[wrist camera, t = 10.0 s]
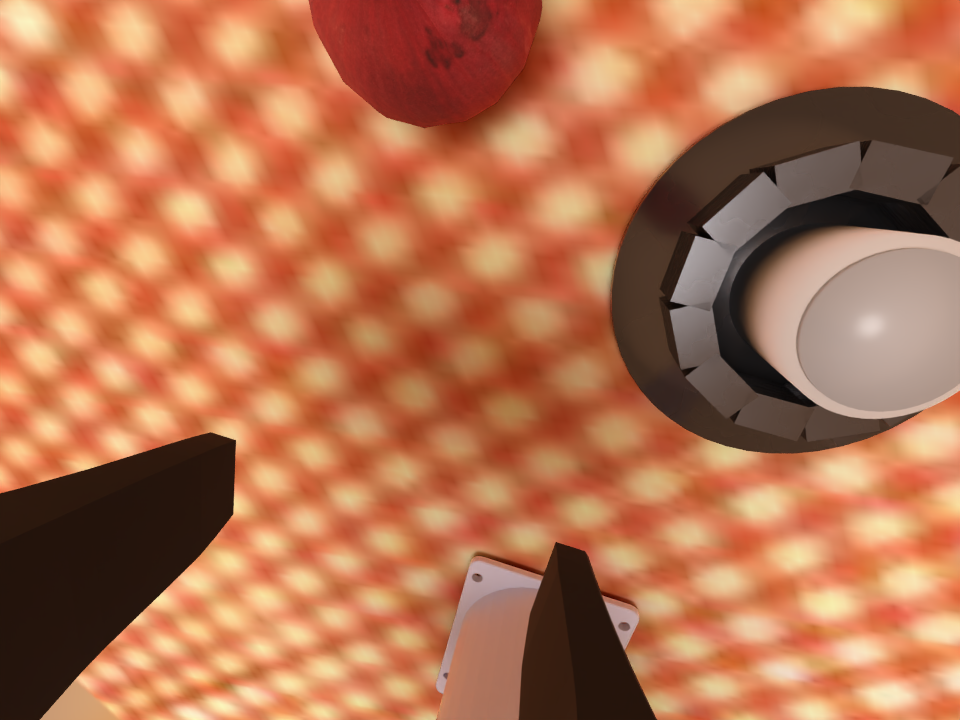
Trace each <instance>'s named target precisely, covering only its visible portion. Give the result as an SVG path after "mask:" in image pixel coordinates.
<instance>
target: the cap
mask: <svg viewBox="0 0 960 720" xmlns="http://www.w3.org/2000/svg"><path fill="white" fill-rule="evenodd" d="M729 310H730V316H731V319H732V322H733V325H734V327H735V329H736V331H737V333H738V334H739V336H740V337H741V338H742V340H743V341H744V342H745V343H746V344H747V345H748V346H750V347H751V348H752V349H753V350H754V351H755V352H756V353H758V354H759V355H760V356H761V357H762V358H763V359H764V360H765V361H767V362H768V363H769V364H770V365H771V366H772V367H773V368H775V369H776V370H777V371H778V372H779V373H780V374H781V375H783V376H784V377H785V378H786V379H787V380H788V381H789V382H790V383H792V384H793V385H794V386H795V387H796V388H797V389H798V390H800V391H801V392H802V393H803V394H804V395H805V396H806V397H808V398H809V399H810V400H812V401H813V402H814V403H816V404H818V405H819V406H821V407H823V408H825V409H827V410H829V411H832V412H835V413H837V414H841V415H845V416H849V417H855V418H862V419H882V418H892V417H898V416H904V415H908V414H911V413H915V412H918V411H921V410H924V409H926V408H929V407H931V406H933V405H936V404H938V403H940V402H942V401H944V400H945V399H947V398H949V397H950V396H952V395H954V394H955V393H957V392H958V391H959V390H960V242H958V241H955V240H953V239H950V238H945V237H940V236H936V235H927V234H918V233H910V232H901V231H892V230H884V229H875V228H866V227H858V226H849V225H840V224H831V223H811V224H805V225H800V226H796V227H792V228H790V229H787V230H785V231H782V232H780V233H778V234H776V235H774V236H772V237H771V238H769V239H768V240H766V241H765V242H763V243H762V244H761V245H760V246H758V247H757V248H756V249H755V250H754V251H753V252H752V253H751V254H750V255H749V256H748V257H747V258H746V260H745V261H744V263H743V264H742V265H741V267H740V269H739V270H738V272H737V274H736V276H735V278H734V281H733V283H732V287H731V291H730V298H729Z"/></svg>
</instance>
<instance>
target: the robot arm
mask: <svg viewBox="0 0 960 720" xmlns="http://www.w3.org/2000/svg"><path fill="white" fill-rule="evenodd" d="M235 450H236V440H233V439H230V438H227V437H224V436H221V435H217V434H214V433H207V434H203V435H199V436H195V437H191V438H188V439H185V440H181V441H178V442H175V443H171V444H168V445H165V446H162V447H158V448H155V449H152V450H149V451H146V452H143V453H139V454H136V455H133V456H130V457H127V458H123V459H120V460H117V461H114V462H110V463H107V464H104V465H101V466H97V467H94V468H91V469H88V470H84V471H80V472H77V473H73V474H70V475H66V476H63V477H59V478H56V479H52V480H48V481H45V482H41V483H38V484H34V485H31V486H27V487H23V488H20V489H16V490H12V491H8V492H4V493H0V720H40V719H41V718H42V717H43V715H44V714H45V713H46V712H47V711H48V710H49V709H50V707H51V706H52V705H53V704H54V703H55V702H56V700H57V699H58V698H59V697H60V696H61V695H62V694H63V693H64V692H65V690H66V689H67V688H68V687H69V686H70V685H71V684H72V682H73V681H74V680H75V679H76V678H77V677H78V676H79V674H80V673H81V672H82V671H83V670H84V669H85V668H86V667H87V666H88V665H89V664H90V663H91V662H92V661H93V660H94V659H95V658H96V657H97V656H98V655H99V654H100V653H101V651H102V650H103V649H104V648H105V647H106V646H107V645H108V644H110V643H111V642H112V641H113V640H114V639H115V638H116V637H117V636H118V635H119V634H120V633H121V632H122V631H123V630H124V629H125V628H126V627H127V626H128V625H129V624H130V623H131V622H132V621H133V620H134V619H135V618H136V617H137V616H138V615H139V614H140V613H142V612H143V611H144V610H145V609H146V608H147V607H148V606H149V605H150V604H151V603H152V602H153V601H154V600H155V599H156V598H157V597H158V596H159V595H160V594H161V593H162V592H163V591H164V590H165V589H166V588H167V587H168V586H169V585H170V584H171V583H172V582H173V581H174V580H175V579H176V578H178V577H179V576H180V575H181V574H182V573H183V572H184V571H185V570H186V569H187V568H188V567H189V566H190V565H191V564H192V563H193V562H194V561H195V560H196V559H197V558H198V557H199V556H200V555H201V553H202V552H203V551H204V550H205V549H206V548H207V546H208V545H209V544H210V543H211V542H212V540H213V539H214V538H215V537H216V536H217V534H218V533H219V532H220V530H221V529H222V528H223V527H224V525H225V524H226V523H227V521H228V520H229V519H230V518H231V516H232V515H233V506H234V478H235ZM475 573H476V574H480V575H481V576H477V575H475ZM622 622H626V623H625V624H623V623H622ZM638 622H639V613H638V610H637V609H636V608H635V607H634V606H632V605H630V604H627V603H624V602H621V601H618V600H615V599H612V598H609V597H606V596H603V595H602V594H601V591H600V589H599V586H598V583H597V580H596V578H595V575H594V572H593V569H592V566H591V563H590V560H589V557H588V556H587V554H586V552H585V551H582V550H579V549H576V548H573V547H570V546H567V545H564V544H560V543H557V542H556V543H555V546H554V549H553V551H552V554H551V557H550V560H549V562H548V565H547V568H546V571H545V573H544V576H541V575H538V574H535V573H532V572H529V571H526V570H523V569H520V568H517V567H514V566H510V565H507V564H504V563H501V562H498V561H495V560H492V559H489V558H486V557H482V556H476V557H474V558H472V560H471V562H470V566H469V569H468V573H467V576H466V580H465V583H464V587H463V590H462V594H461V597H460V601H459V605H458V608H457V612H456V615H455V619H454V622H453V626H452V629H451V633H450V636H449V640H448V643H447V647H446V650H445V654H444V657H443V661H442V664H441V668H440V671H439V675H438V678H437V682H436V688H437V690H438V691H439V692H440V693H442V694H443V696H442V700H441V704H440V708H439V712H438V715H437V719H436V720H657V719H656V717H655V715H654V713H653V711H652V709H651V707H650V705H649V702H648V700H647V698H646V696H645V694H644V692H643V690H642V688H641V686H640V684H639V682H638V680H637V678H636V675H635V673H634V671H633V669H632V667H631V664H630V662H629V660H628V658H627V655H626V653H625V649H626V647H627V645H628V643H629V640H630V638H631V636H632V634H633V632H634V630H635V628H636V626H637V624H638Z"/></svg>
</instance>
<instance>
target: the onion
mask: <svg viewBox="0 0 960 720" xmlns="http://www.w3.org/2000/svg"><path fill="white" fill-rule="evenodd" d="M309 4H310V9H311V14H312V19H313V24H314V27H315V29H316V32H317V34H318V36H319V38H320V40H321V41H322V43H323V45H324V47H325V49H326V51H327V52H328V54H329V56H330V58H331V60H332V62H333V63H334V65H335V67H336V69H337V71H338V73H339V74H340V76H341V78H342V80H343V82H345V83H346V84H347V85H348V86H349V87H350V88H351V89H353V90H354V91H355V92H356V93H357V94H358V95H360V96H361V97H362V98H363V99H364V100H365V101H366V102H368V103H369V104H370V105H371V106H372V107H373V108H374V109H376V110H377V111H378V112H379V113H381V114H382V115H384V116H385V117H387V118H390V119H394V120H397V121H401V122H405V123H408V124H412V125H416V126H419V127H423V128H427V127H432V126H437V125H443V124H449V123H457V122H465V121H467V120H469V119H470V118H472V117H474V116H475V115H477V114H479V113H480V112H482V111H484V110H485V109H487V108H489V107H491V106H492V105H494V104H496V103H497V102H498V101H499V99H500V98H501V97H502V95H503V94H504V93H505V92H506V90H507V89H508V88H509V87H510V85H511V84H512V83H513V81H514V80H515V79H516V78H517V76H518V75H519V74H520V72H521V71H522V70H523V69H524V66H525V63H526V60H527V57H528V54H529V51H530V48H531V45H532V42H533V39H534V36H535V33H536V30H537V27H538V24H539V21H540V17H541V11H542V0H309Z"/></svg>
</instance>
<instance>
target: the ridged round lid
mask: <svg viewBox="0 0 960 720" xmlns="http://www.w3.org/2000/svg"><path fill="white" fill-rule="evenodd" d="M811 223H831V224H840V225H849V226H858V227H866V228H875V229H884V230H892V231H901V232H910V233H918V234H927V235H936V236H940V237H945V238H950V239H953V240H955V241H958V242H960V116H959V115H958V114H956V113H955V112H954V111H952V110H950V109H948V108H945V107H943V106H941V105H939V104H937V103H935V102H933V101H930V100H928V99H926V98H922V97H919V96H915V95H912V94H908V93H905V92H901V91H896V90H889V89H881V88H873V87H836V88H829V89H822V90H815V91H808V92H804V93H800V94H796V95H793V96H789V97H785V98H781V99H778V100H775V101H773V102H770V103H768V104H765V105H763V106H760V107H758V108H755V109H753V110H750V111H748V112H746V113H744V114H742V115H740V116H738V117H736V118H734V119H732V120H731V121H729V122H727V123H725V124H723V125H721V126H719V127H717V128H716V129H715V130H713V131H712V132H710V133H709V134H707V135H706V136H704V137H703V138H702V139H700V140H699V141H697V142H696V143H694V144H693V145H692V146H691V147H690V148H689V149H687V150H686V151H685V152H684V153H683V154H682V155H680V156H679V157H678V158H677V159H676V160H675V161H674V162H673V163H672V164H671V165H670V166H669V167H668V168H667V169H666V170H665V171H664V172H663V174H662V175H661V176H660V177H659V178H658V179H657V180H656V181H655V182H654V184H653V185H652V187H651V188H650V189H649V191H648V192H647V194H646V195H645V196H644V198H643V199H642V201H641V202H640V204H639V205H638V207H637V209H636V211H635V213H634V214H633V216H632V218H631V220H630V222H629V223H628V226H627V228H626V231H625V233H624V236H623V238H622V241H621V243H620V246H619V249H618V253H617V257H616V260H615V264H614V268H613V276H612V284H611V314H612V321H613V327H614V332H615V336H616V339H617V342H618V346H619V349H620V352H621V355H622V358H623V360H624V362H625V364H626V366H627V368H628V370H629V373H630V374H631V376H632V377H633V379H634V380H635V382H636V383H637V385H638V386H639V388H640V389H641V391H642V392H643V393H644V394H645V395H646V396H647V398H648V399H649V400H650V401H651V402H652V403H653V404H654V405H655V406H656V407H657V408H658V409H659V410H660V411H662V412H663V413H664V414H665V415H666V416H667V417H669V418H670V419H671V420H673V421H674V422H676V423H677V424H679V425H680V426H682V427H683V428H685V429H687V430H689V431H691V432H693V433H695V434H697V435H699V436H701V437H703V438H705V439H708V440H711V441H713V442H716V443H719V444H722V445H725V446H729V447H733V448H738V449H742V450H746V451H755V452H764V453H802V452H813V451H820V450H825V449H830V448H835V447H841V446H844V445H848V444H851V443H854V442H858V441H861V440H864V439H867V438H870V437H872V436H874V435H877V434H879V433H882V432H884V431H887V430H889V429H891V428H893V427H895V426H897V425H899V424H901V423H902V422H904V421H906V420H908V419H910V418H912V417H914V416H915V415H917V414H918V413H920V412H921V411H923V410H921V411H918V412H915V413H911V414H908V415H904V416H898V417H892V418H882V419H862V418H855V417H849V416H845V415H841V414H837V413H835V412H832V411H829V410H827V409H825V408H823V407H821V406H819V405H818V404H816V403H814V402H813V401H812V400H810V399H809V398H808V397H806V396H805V395H804V394H803V393H802V392H801V391H800V390H798V389H797V388H796V387H795V386H794V385H793V384H792V383H790V382H789V381H788V380H787V379H786V378H785V377H784V376H783V375H781V374H780V373H779V372H778V371H777V370H776V369H775V368H773V367H772V366H771V365H770V364H769V363H768V362H767V361H765V360H764V359H763V358H762V357H761V356H760V355H759V354H758V353H756V352H755V351H754V350H753V349H752V348H751V347H750V346H748V345H747V344H746V343H745V342H744V341H743V340H742V338H741V337H740V336H739V334H738V333H737V331H736V329H735V327H734V325H733V322H732V319H731V316H730V310H729V298H730V291H731V287H732V283H733V281H734V278H735V276H736V274H737V272H738V270H739V269H740V267H741V265H742V264H743V263H744V261H745V260H746V258H747V257H748V256H749V255H750V254H751V253H752V252H753V251H754V250H755V249H756V248H757V247H758V246H760V245H761V244H762V243H763V242H765V241H766V240H768V239H769V238H771V237H772V236H774V235H776V234H778V233H780V232H782V231H785V230H787V229H790V228H792V227H796V226H800V225H805V224H811Z"/></svg>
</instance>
